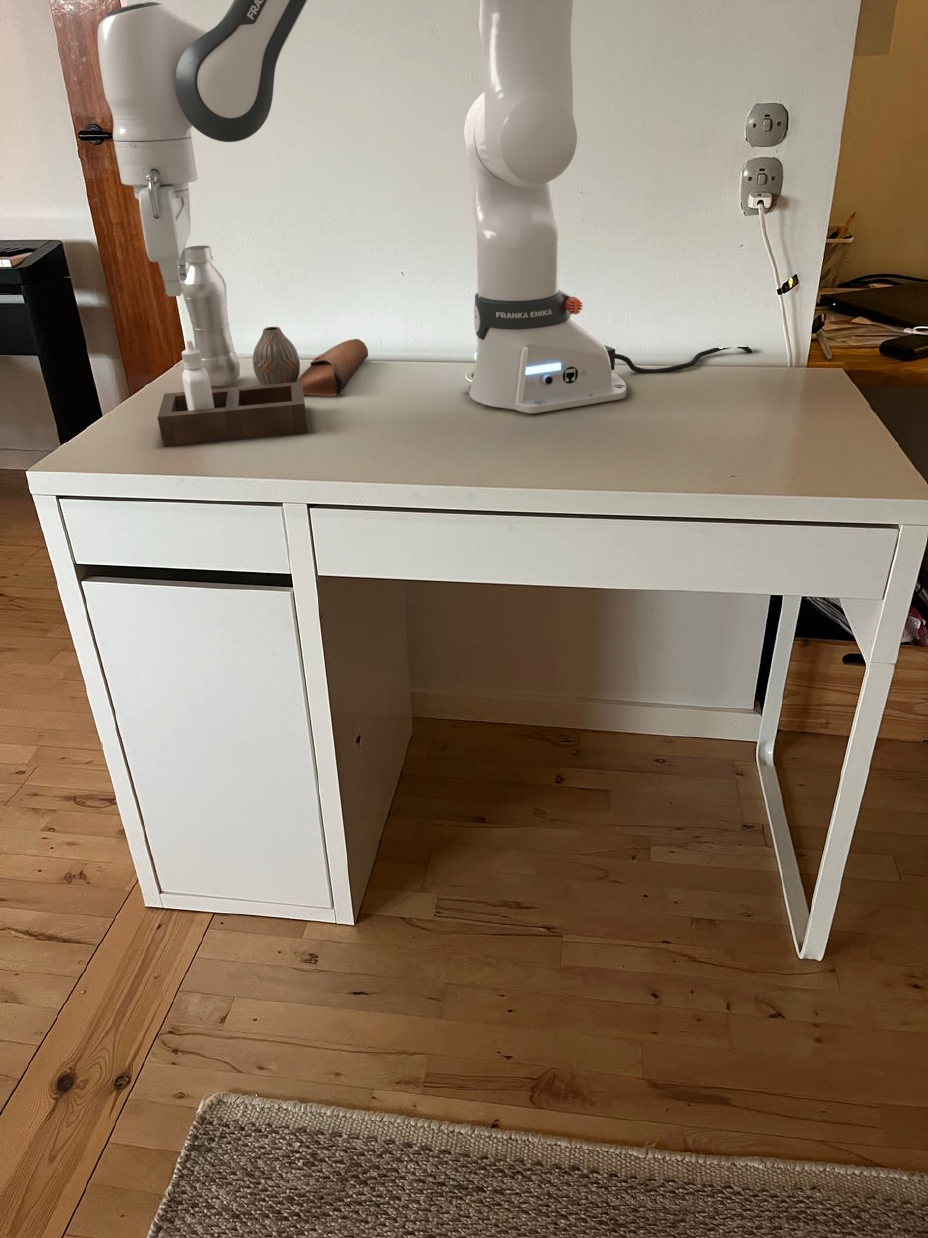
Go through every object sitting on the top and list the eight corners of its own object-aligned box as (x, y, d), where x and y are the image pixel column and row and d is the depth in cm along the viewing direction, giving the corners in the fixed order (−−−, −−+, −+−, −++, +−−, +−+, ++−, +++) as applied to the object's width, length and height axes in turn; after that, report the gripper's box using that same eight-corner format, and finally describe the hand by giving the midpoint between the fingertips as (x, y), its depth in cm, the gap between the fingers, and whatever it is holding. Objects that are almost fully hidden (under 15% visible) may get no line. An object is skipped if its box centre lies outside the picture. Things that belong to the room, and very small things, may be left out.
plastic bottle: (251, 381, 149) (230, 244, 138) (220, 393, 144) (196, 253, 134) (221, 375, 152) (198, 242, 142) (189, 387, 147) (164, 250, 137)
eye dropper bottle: (181, 436, 128) (163, 346, 122) (199, 422, 133) (183, 334, 126) (211, 437, 127) (195, 346, 121) (228, 423, 132) (213, 335, 126)
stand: (305, 409, 136) (301, 381, 134) (308, 432, 127) (304, 403, 125) (169, 421, 133) (164, 393, 131) (163, 446, 125) (157, 416, 123)
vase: (293, 394, 142) (285, 334, 138) (249, 393, 143) (240, 334, 139) (308, 380, 148) (301, 322, 143) (266, 379, 149) (258, 322, 145)
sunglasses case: (317, 358, 156) (334, 322, 153) (356, 380, 157) (373, 345, 154) (288, 393, 141) (305, 354, 138) (330, 416, 142) (349, 378, 139)
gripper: (178, 173, 105) (199, 303, 112) (190, 157, 122) (207, 270, 129) (118, 176, 104) (143, 307, 111) (139, 159, 121) (159, 273, 128)
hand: (178, 287), depth 120 cm, fingers open, 8 cm apart
